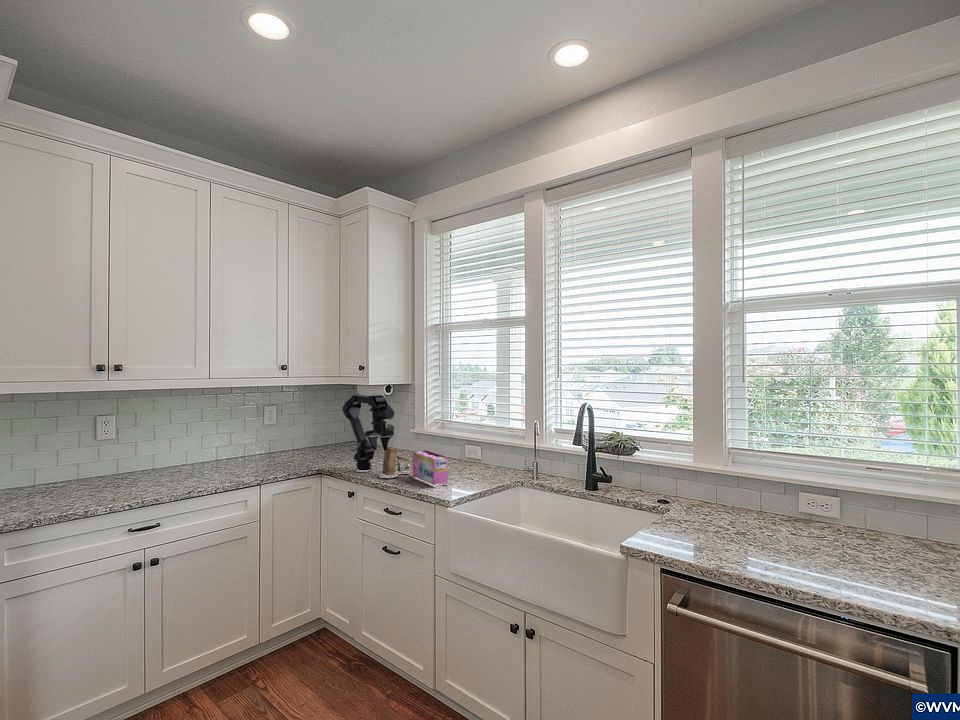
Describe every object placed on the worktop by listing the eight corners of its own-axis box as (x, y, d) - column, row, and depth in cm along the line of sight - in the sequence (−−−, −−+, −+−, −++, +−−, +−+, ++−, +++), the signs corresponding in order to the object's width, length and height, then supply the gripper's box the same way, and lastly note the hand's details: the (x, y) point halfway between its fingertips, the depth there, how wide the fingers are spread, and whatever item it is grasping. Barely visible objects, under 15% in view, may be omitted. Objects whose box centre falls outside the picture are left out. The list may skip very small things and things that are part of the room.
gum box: (410, 478, 246) (410, 451, 246) (424, 476, 250) (424, 449, 250) (433, 488, 226) (433, 458, 226) (448, 486, 231) (448, 457, 231)
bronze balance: (384, 474, 253) (384, 455, 253) (387, 472, 257) (387, 453, 257) (410, 475, 251) (410, 456, 251) (412, 473, 255) (412, 454, 255)
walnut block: (382, 473, 246) (384, 447, 248) (388, 473, 250) (391, 447, 251) (388, 475, 244) (390, 448, 245) (394, 474, 247) (397, 448, 249)
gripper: (401, 417, 250) (403, 448, 248) (381, 418, 263) (383, 447, 262) (382, 419, 242) (385, 451, 241) (363, 420, 255) (365, 450, 254)
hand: (380, 450), depth 250 cm, fingers open, 9 cm apart
